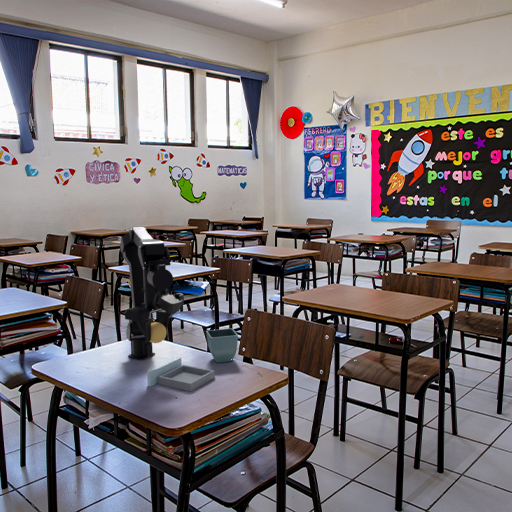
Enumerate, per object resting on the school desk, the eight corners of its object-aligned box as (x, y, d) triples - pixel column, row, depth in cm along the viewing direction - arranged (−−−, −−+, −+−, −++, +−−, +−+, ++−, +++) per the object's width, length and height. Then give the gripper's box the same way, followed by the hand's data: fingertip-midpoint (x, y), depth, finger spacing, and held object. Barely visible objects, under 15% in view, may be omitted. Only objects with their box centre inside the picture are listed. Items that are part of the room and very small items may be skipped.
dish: (158, 384, 138) (157, 376, 138) (183, 371, 148) (183, 364, 148) (191, 391, 133) (190, 383, 132) (214, 377, 143) (214, 370, 142)
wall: (147, 385, 137) (147, 371, 137) (179, 370, 149) (178, 357, 149) (150, 386, 137) (149, 372, 136) (181, 370, 149) (181, 357, 148)
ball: (141, 344, 142) (140, 323, 142) (155, 339, 147) (154, 319, 147) (157, 346, 139) (156, 325, 138) (171, 341, 144) (170, 321, 144)
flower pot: (211, 365, 153) (210, 337, 152) (206, 357, 161) (205, 330, 160) (239, 362, 155) (238, 335, 154) (232, 354, 164) (232, 328, 163)
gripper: (152, 292, 129) (155, 350, 131) (196, 282, 145) (198, 334, 147) (122, 289, 135) (124, 345, 137) (167, 279, 151) (169, 329, 153)
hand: (156, 338), depth 143 cm, fingers closed on ball, 6 cm apart
